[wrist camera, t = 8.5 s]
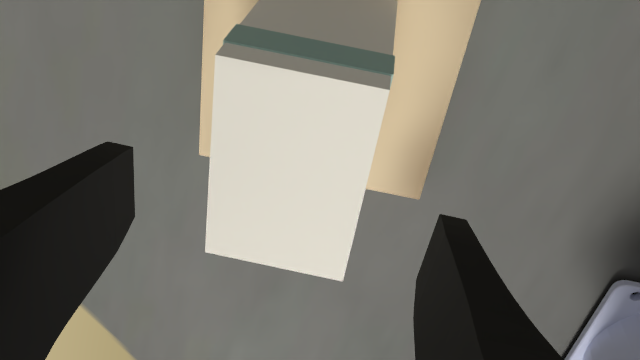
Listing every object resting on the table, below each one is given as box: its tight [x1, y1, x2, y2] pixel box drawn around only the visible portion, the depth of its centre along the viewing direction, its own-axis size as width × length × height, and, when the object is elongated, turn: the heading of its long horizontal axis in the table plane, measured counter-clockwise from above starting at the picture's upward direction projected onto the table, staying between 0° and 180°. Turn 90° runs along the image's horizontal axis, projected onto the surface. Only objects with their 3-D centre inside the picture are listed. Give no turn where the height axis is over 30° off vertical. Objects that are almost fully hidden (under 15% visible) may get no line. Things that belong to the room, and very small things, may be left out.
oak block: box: [199, 0, 481, 199], centre depth 21 cm, size 9×9×2 cm
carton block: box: [205, 0, 398, 281], centre depth 17 cm, size 4×6×7 cm
